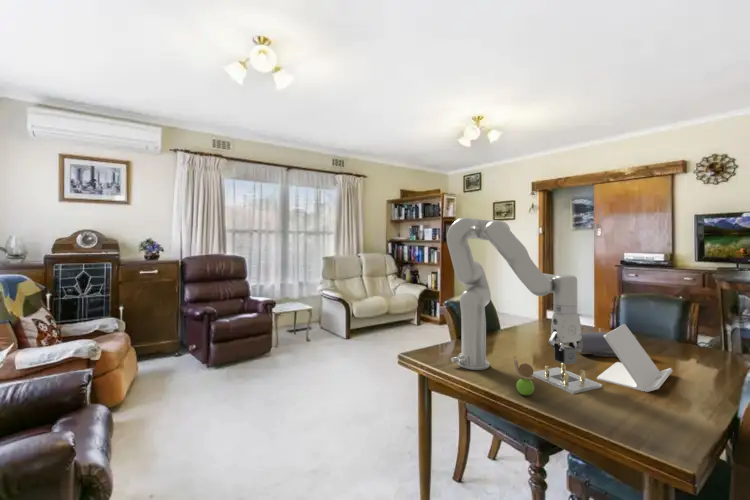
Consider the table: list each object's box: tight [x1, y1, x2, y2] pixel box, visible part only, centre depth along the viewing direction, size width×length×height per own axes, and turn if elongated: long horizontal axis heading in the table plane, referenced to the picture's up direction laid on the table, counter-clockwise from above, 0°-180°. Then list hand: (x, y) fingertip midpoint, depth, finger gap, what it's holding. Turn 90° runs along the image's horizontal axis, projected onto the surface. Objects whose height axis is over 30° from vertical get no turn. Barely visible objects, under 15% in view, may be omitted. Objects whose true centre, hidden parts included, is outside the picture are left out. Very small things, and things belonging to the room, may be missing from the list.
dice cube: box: [553, 344, 578, 365], centre depth 129 cm, size 5×5×5 cm
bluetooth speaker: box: [576, 331, 639, 358], centre depth 157 cm, size 23×9×10 cm, turn 84°
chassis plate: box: [532, 362, 603, 395], centre depth 129 cm, size 14×18×4 cm
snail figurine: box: [513, 355, 535, 396], centre depth 118 cm, size 5×6×12 cm
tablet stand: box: [596, 323, 674, 393], centre depth 132 cm, size 18×25×17 cm
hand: (565, 359), depth 129 cm, fingers closed on dice cube, 5 cm apart
